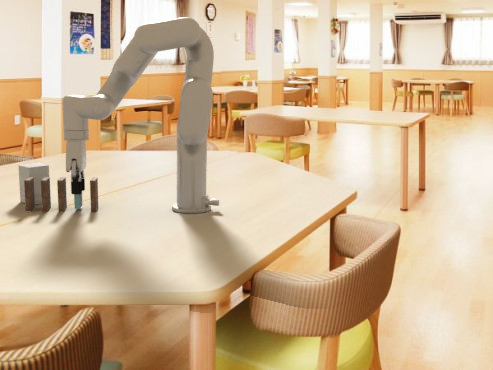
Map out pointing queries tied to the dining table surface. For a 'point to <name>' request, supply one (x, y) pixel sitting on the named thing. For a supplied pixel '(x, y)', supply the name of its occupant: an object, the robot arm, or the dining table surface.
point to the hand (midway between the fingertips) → (78, 191)
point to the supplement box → (38, 173)
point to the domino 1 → (29, 193)
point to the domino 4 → (78, 199)
